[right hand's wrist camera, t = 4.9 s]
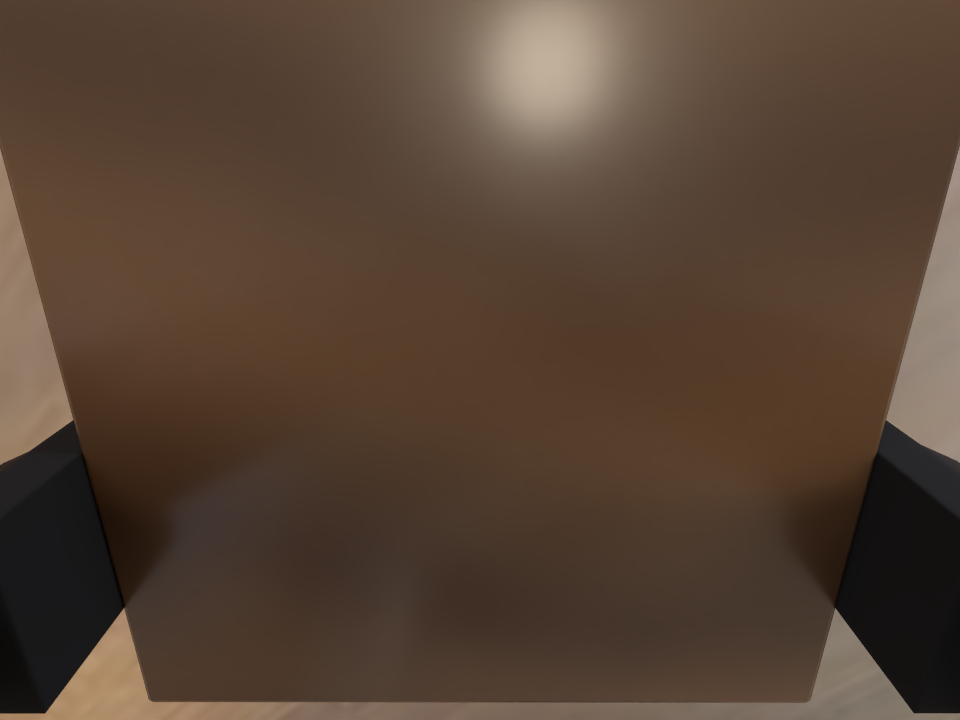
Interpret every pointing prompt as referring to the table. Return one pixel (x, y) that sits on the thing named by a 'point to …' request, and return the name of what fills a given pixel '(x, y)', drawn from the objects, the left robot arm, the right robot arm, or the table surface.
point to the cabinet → (479, 327)
